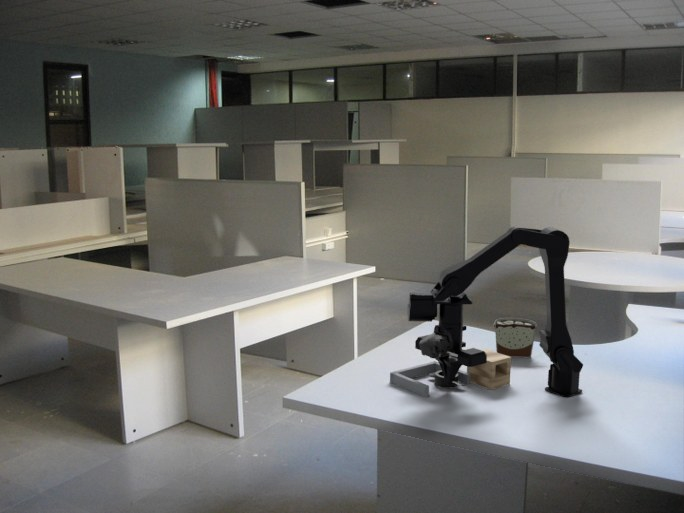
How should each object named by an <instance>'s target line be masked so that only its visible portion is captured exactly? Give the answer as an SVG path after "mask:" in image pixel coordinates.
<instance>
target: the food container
mask: <svg viewBox="0 0 684 513" xmlns="http://www.w3.org/2000/svg"><path fill="white" fill-rule="evenodd" d="M538 328H539V327H538V325H537V322H536V321H534V320H531V319H527V318H523V317H502V318H497V319H496V320H495V321H494V322H493V325H492V330H494V331H495V332H494V334H495V346H496V348H495V349H496V351H495V352H497V353H500V354H503V355H506V356H509V357H511V358H521V357H523V358H528V359H532V353H533V348H534V341H535V336H536V331H538V332H539V329H538ZM523 358H522V359H523Z"/></svg>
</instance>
